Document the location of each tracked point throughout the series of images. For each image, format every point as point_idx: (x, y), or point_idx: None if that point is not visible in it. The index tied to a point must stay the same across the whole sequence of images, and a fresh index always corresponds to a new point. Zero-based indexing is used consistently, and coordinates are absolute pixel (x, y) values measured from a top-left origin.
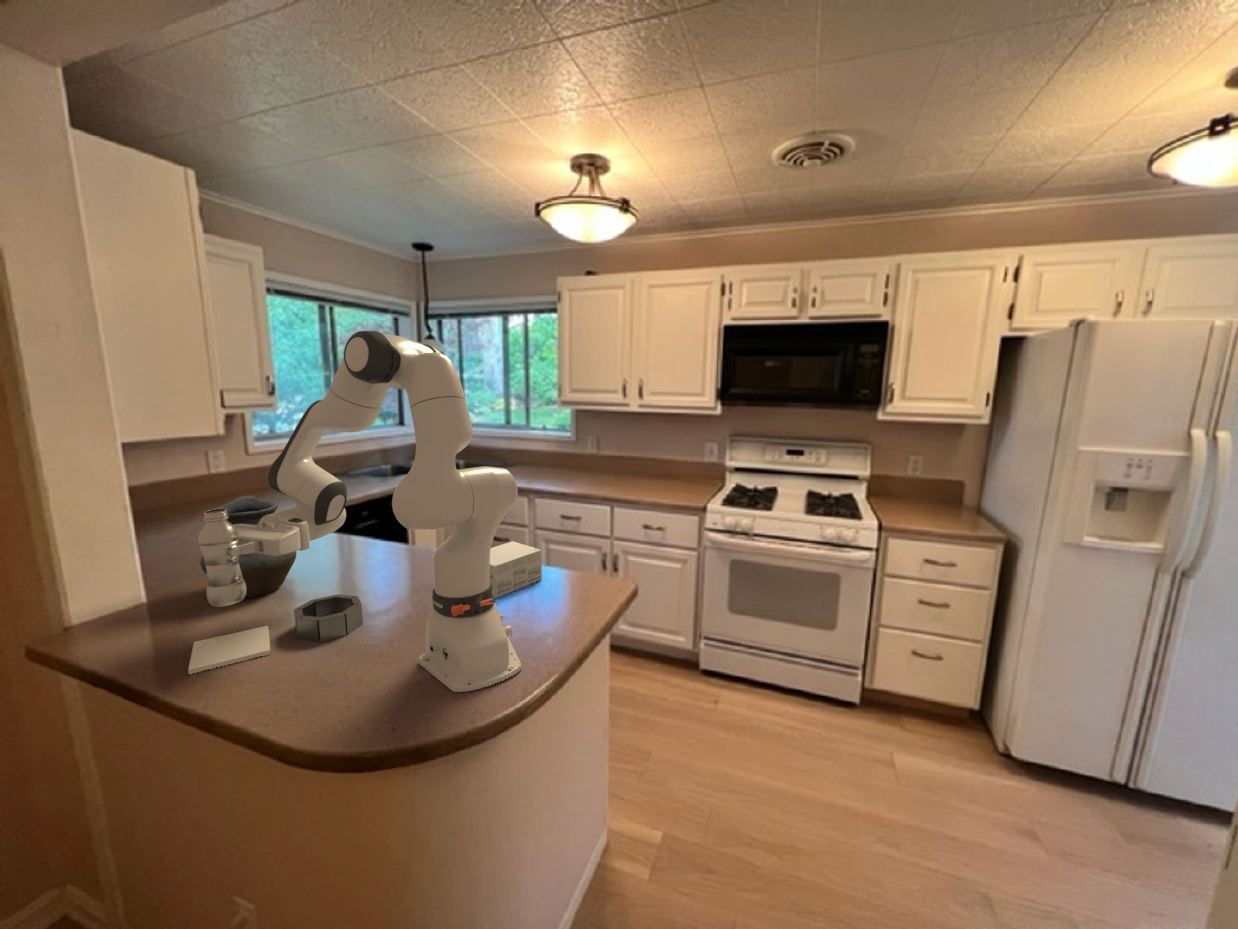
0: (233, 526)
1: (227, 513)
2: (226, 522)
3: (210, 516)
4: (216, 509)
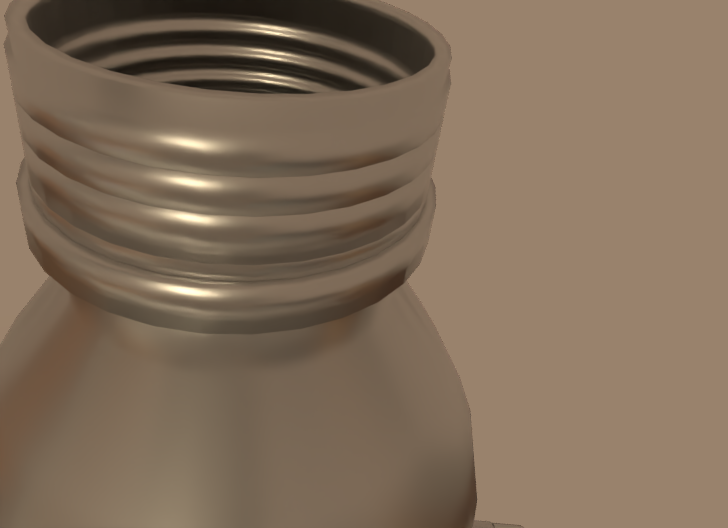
0: (11, 472)
1: (60, 179)
2: (60, 289)
3: (189, 29)
4: (386, 90)
